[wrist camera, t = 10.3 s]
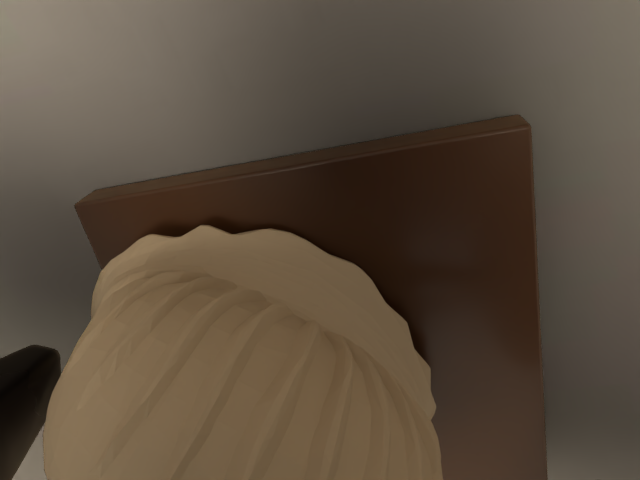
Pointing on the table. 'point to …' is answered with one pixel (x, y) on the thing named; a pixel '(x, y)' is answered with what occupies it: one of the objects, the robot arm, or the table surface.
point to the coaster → (399, 261)
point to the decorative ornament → (240, 369)
